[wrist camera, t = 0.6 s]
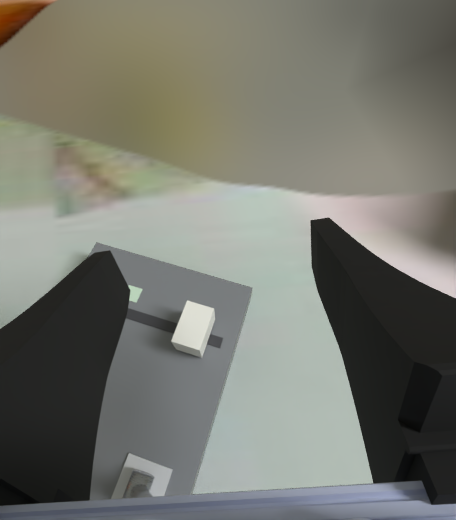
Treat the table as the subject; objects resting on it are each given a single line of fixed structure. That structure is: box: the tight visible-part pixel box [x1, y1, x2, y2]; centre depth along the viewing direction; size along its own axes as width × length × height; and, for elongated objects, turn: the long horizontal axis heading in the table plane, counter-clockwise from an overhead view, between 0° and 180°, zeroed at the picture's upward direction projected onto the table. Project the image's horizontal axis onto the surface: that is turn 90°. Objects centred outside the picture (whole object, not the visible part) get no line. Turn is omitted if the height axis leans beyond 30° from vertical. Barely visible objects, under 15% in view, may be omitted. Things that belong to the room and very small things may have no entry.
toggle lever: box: [122, 469, 155, 499], centre depth 18 cm, size 2×2×6 cm
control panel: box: [88, 242, 252, 500], centre depth 24 cm, size 20×14×3 cm
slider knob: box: [171, 300, 215, 358], centre depth 23 cm, size 3×2×2 cm, turn 163°
